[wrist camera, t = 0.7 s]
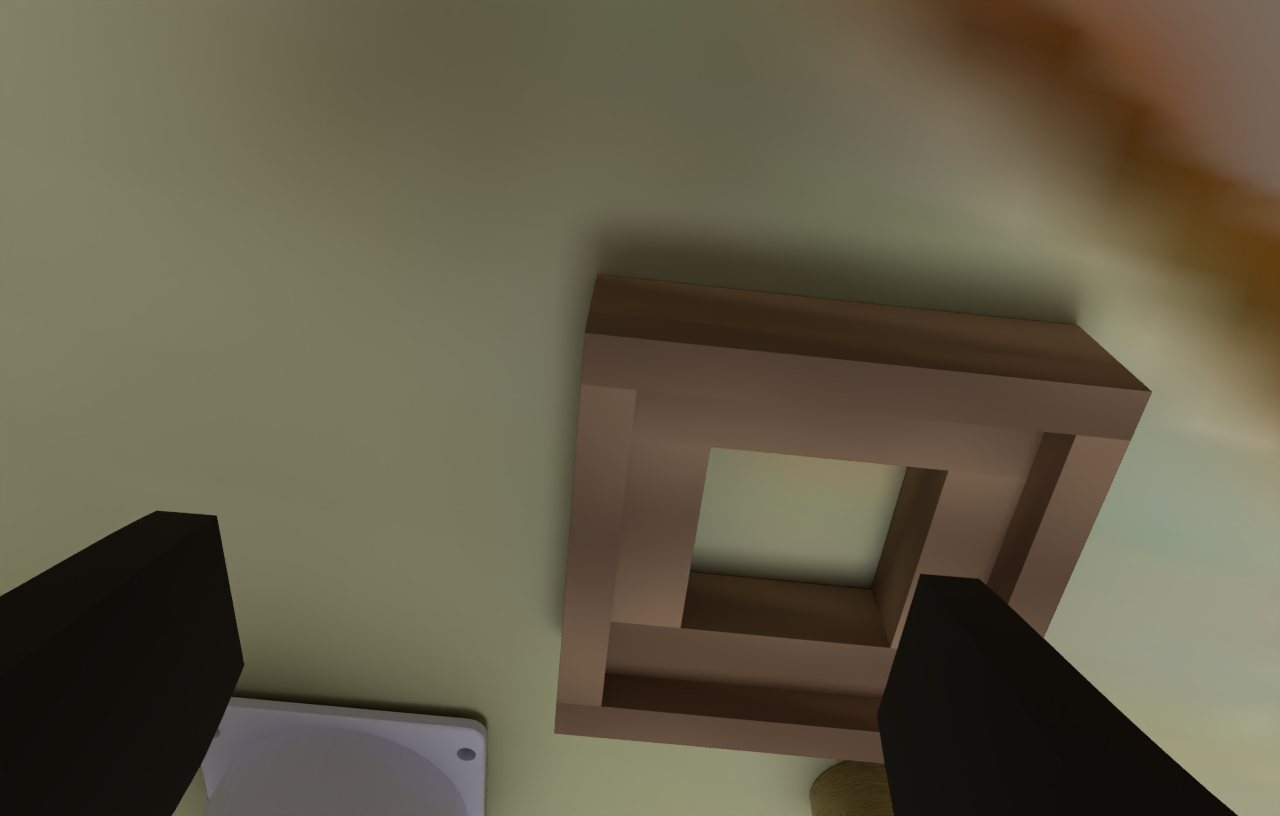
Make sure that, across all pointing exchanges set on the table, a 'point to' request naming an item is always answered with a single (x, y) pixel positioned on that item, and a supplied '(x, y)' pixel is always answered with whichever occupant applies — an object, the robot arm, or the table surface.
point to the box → (825, 428)
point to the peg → (852, 791)
